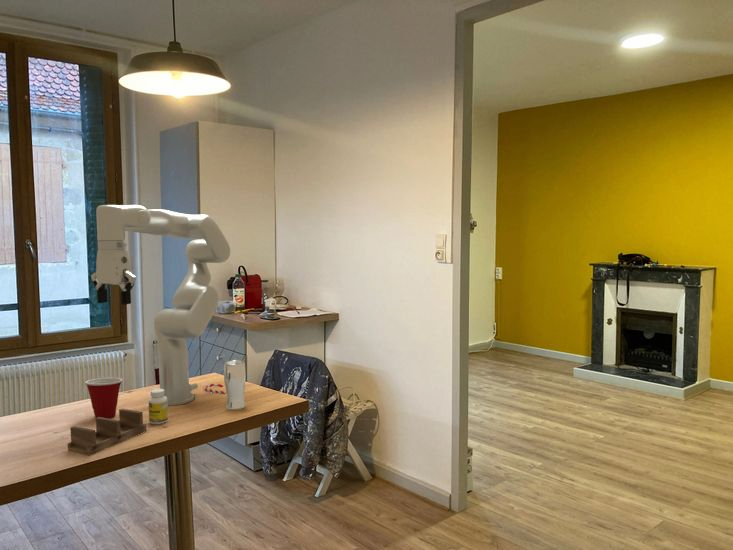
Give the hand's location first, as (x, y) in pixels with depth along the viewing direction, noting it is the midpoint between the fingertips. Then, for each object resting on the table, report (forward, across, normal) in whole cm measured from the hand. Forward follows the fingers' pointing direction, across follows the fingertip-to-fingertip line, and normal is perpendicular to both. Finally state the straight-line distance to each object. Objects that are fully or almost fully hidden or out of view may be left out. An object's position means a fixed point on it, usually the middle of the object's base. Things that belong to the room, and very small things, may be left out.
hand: (114, 303), depth 179 cm
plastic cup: (+37, +8, -2) cm, 38 cm away
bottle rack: (+37, -10, +13) cm, 40 cm away
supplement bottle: (+37, -11, -5) cm, 39 cm away
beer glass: (+37, -24, -26) cm, 51 cm away
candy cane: (+37, -6, -40) cm, 55 cm away
